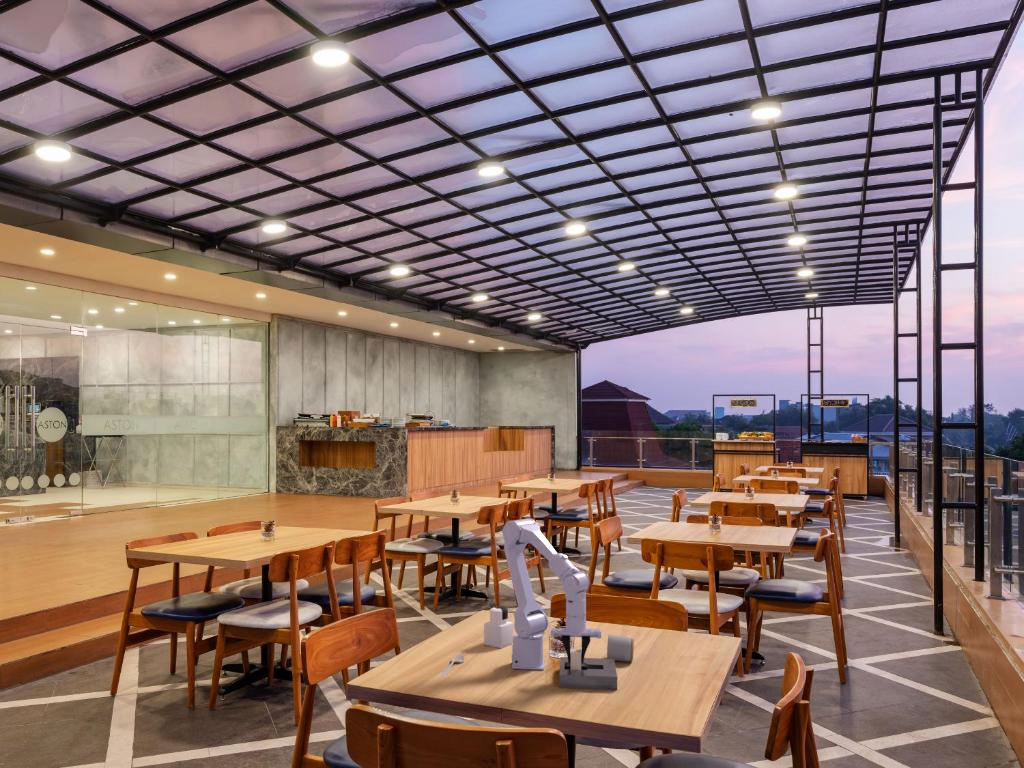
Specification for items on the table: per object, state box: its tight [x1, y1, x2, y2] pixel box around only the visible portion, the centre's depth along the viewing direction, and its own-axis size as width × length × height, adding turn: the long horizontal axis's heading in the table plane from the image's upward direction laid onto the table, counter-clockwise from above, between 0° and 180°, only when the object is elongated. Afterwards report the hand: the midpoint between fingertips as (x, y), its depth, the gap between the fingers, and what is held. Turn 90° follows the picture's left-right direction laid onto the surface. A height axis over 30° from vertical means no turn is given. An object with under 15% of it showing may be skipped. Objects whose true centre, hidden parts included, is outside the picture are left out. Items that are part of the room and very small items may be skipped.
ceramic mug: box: [606, 634, 635, 663], centre depth 239 cm, size 11×8×8 cm
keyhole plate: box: [559, 656, 618, 691], centre depth 220 cm, size 16×16×4 cm
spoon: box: [440, 654, 466, 678], centre depth 228 cm, size 4×21×2 cm, turn 165°
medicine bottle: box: [483, 606, 514, 649], centre depth 253 cm, size 7×7×12 cm
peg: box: [570, 648, 582, 670], centre depth 220 cm, size 6×6×8 cm
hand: (575, 662), depth 220 cm, fingers closed on peg, 3 cm apart
